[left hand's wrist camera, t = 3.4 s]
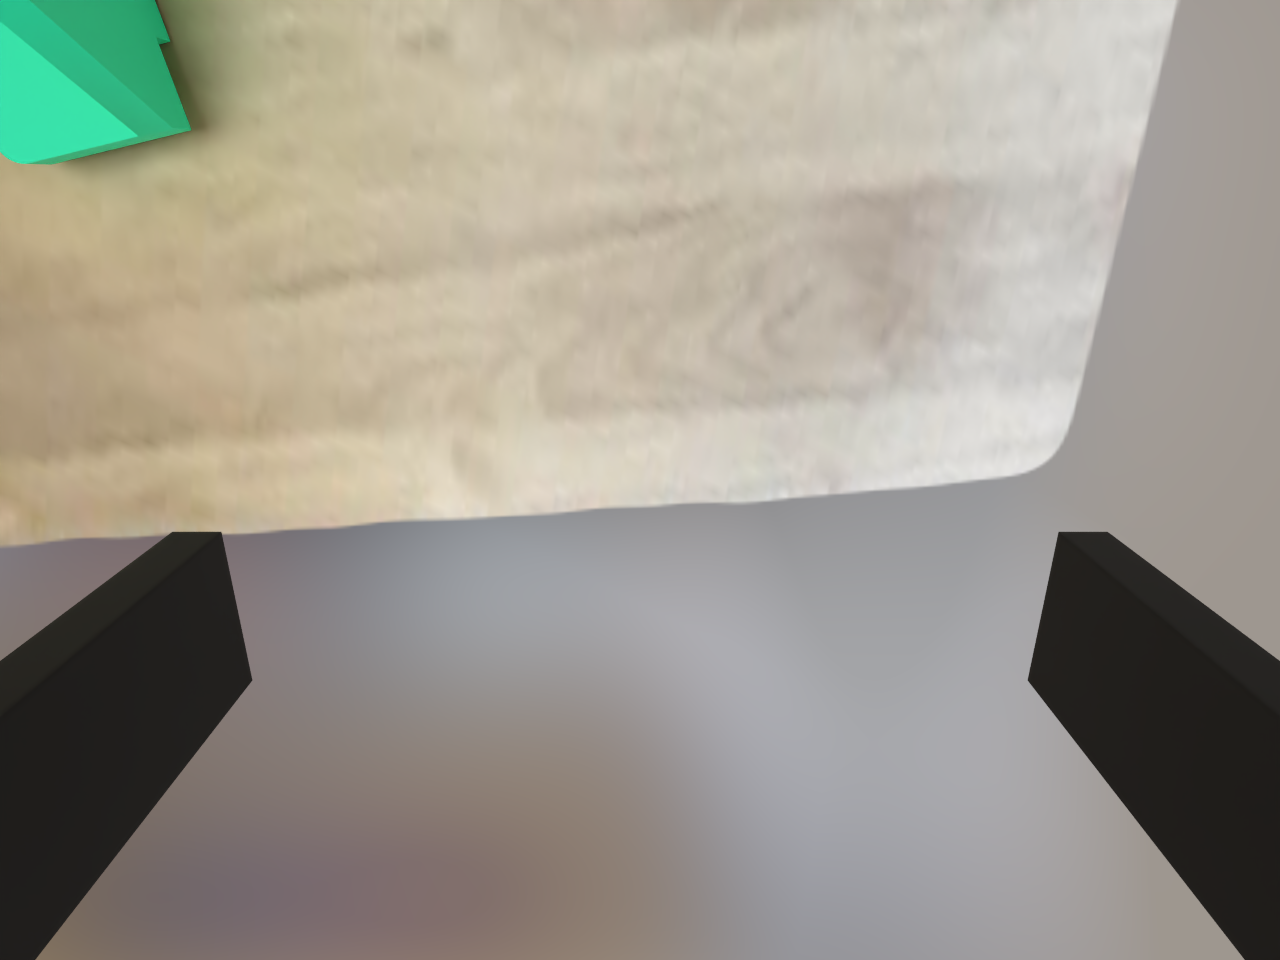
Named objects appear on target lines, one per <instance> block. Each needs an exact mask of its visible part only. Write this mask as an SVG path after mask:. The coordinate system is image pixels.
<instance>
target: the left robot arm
mask: <svg viewBox="0 0 1280 960" xmlns="http://www.w3.org/2000/svg"><path fill="white" fill-rule="evenodd" d="M251 681H252V677H251V672H250V667H249V662H248V658H247V653H246V648H245V643H244V638H243V634H242V629H241V624H240V619H239V615H238V610H237V605H236V600H235V595H234V590H233V586H232V581H231V576H230V571H229V566H228V562H227V557H226V552H225V547H224V542H223V538H222V533H221V532H172V533H170V534H169V535H168V536H166V537H165V538H164V539H162V540H161V541H160V542H158V543H157V544H156V545H154V546H153V547H152V548H150V549H149V550H148V551H146V552H145V553H144V554H142V555H141V556H140V557H138V558H137V559H136V560H134V561H133V562H132V563H130V564H129V565H128V566H126V567H125V568H124V569H122V570H121V571H120V572H118V573H117V574H116V575H114V576H113V577H112V578H110V579H109V580H108V581H106V582H105V583H104V584H102V585H101V586H100V587H98V588H97V589H96V590H94V591H93V592H92V593H90V594H89V595H88V596H86V597H85V598H84V599H82V600H81V601H80V602H78V603H77V604H76V605H74V606H73V607H72V608H70V609H69V610H68V611H66V612H65V613H64V614H62V615H61V616H60V617H58V618H57V619H56V620H54V621H53V622H52V623H50V624H49V625H48V626H46V627H45V628H44V629H42V630H41V631H40V632H38V633H37V634H36V635H34V636H33V637H32V638H30V639H29V640H28V641H26V642H25V643H24V644H22V645H21V646H20V647H18V648H17V649H16V650H14V651H13V652H12V653H10V654H9V655H8V656H6V657H5V658H4V659H2V660H1V661H0V960H35V959H36V958H37V957H38V955H39V954H40V953H41V952H42V950H43V949H44V948H45V946H46V945H47V944H48V943H49V941H50V940H51V939H52V937H53V936H54V935H55V934H56V932H57V931H58V930H59V928H60V927H61V926H62V925H63V923H64V922H65V921H66V919H67V918H68V917H69V915H70V914H71V913H72V912H73V910H74V909H75V908H76V907H77V905H78V904H79V903H80V901H81V900H82V899H83V898H84V896H85V895H86V894H87V892H88V891H89V890H90V889H91V887H92V886H93V885H94V883H95V882H96V881H97V879H98V878H99V877H100V876H101V874H102V873H103V872H104V870H105V869H106V868H107V867H108V865H109V864H110V863H111V861H112V860H113V859H114V858H115V856H116V855H117V854H118V852H119V851H120V850H121V849H122V847H123V846H124V845H125V843H126V842H127V841H128V840H129V838H130V837H131V836H132V834H133V833H134V832H135V831H136V829H137V828H138V827H139V825H140V824H141V823H142V822H143V820H144V819H145V818H146V816H147V815H148V814H149V812H150V811H151V810H152V809H153V807H154V806H155V805H156V804H157V802H158V801H159V800H160V798H161V797H162V796H163V795H164V793H165V792H166V791H167V789H168V788H169V787H170V785H171V784H172V783H173V782H174V780H175V779H176V778H177V777H178V775H179V774H180V773H181V771H182V770H183V769H184V768H185V766H186V765H187V764H188V762H189V761H190V760H191V759H192V757H193V756H194V755H195V753H196V752H197V751H198V750H199V748H200V747H201V746H202V744H203V743H204V742H205V741H206V739H207V738H208V737H209V735H210V734H211V733H212V731H213V730H214V729H215V728H216V726H217V725H218V724H219V722H220V721H221V720H222V719H223V717H224V716H225V715H226V713H227V712H228V711H229V710H230V708H231V707H232V706H233V704H234V703H235V702H236V701H237V699H238V698H239V697H240V695H241V694H242V693H243V692H244V690H245V689H246V688H247V686H248V685H249V684H250V683H251ZM1028 681H1029V683H1030V684H1031V685H1032V686H1033V688H1034V689H1035V690H1036V692H1037V693H1038V694H1039V695H1040V697H1041V698H1042V699H1043V701H1044V702H1045V703H1046V704H1047V706H1048V707H1049V708H1050V710H1051V711H1052V712H1053V713H1054V715H1055V716H1056V717H1057V719H1058V720H1059V721H1060V722H1061V724H1062V725H1063V726H1064V728H1065V729H1066V730H1067V731H1068V733H1069V734H1070V735H1071V737H1072V738H1073V739H1074V741H1075V742H1076V743H1077V744H1078V746H1079V747H1080V748H1081V749H1082V751H1083V752H1084V753H1085V755H1086V756H1087V757H1088V759H1089V760H1090V761H1091V762H1092V764H1093V765H1094V766H1095V768H1096V769H1097V770H1098V771H1099V773H1100V774H1101V775H1102V777H1103V778H1104V779H1105V780H1106V782H1107V783H1108V784H1109V786H1110V787H1111V788H1112V789H1113V791H1114V792H1115V793H1116V794H1117V796H1118V797H1119V798H1120V800H1121V801H1122V802H1123V804H1124V805H1125V806H1126V807H1127V809H1128V810H1129V811H1130V813H1131V814H1132V815H1133V816H1134V818H1135V819H1136V820H1137V822H1138V823H1139V824H1140V825H1141V827H1142V828H1143V829H1144V831H1145V832H1146V833H1147V834H1148V836H1149V837H1150V838H1151V840H1152V841H1153V842H1154V843H1155V845H1156V846H1157V847H1158V849H1159V850H1160V851H1161V852H1162V854H1163V855H1164V856H1165V858H1166V859H1167V860H1168V861H1169V863H1170V864H1171V865H1172V867H1173V868H1174V869H1175V870H1176V872H1177V873H1178V874H1179V876H1180V877H1181V878H1182V879H1183V881H1184V882H1185V883H1186V885H1187V886H1188V887H1189V889H1190V890H1191V891H1192V892H1193V894H1194V895H1195V896H1196V898H1197V899H1198V900H1199V901H1200V903H1201V904H1202V905H1203V907H1204V908H1205V909H1206V910H1207V912H1208V913H1209V914H1210V916H1211V917H1212V918H1213V919H1214V921H1215V922H1216V923H1217V925H1218V926H1219V927H1220V928H1221V930H1222V931H1223V932H1224V934H1225V935H1226V936H1227V937H1228V939H1229V940H1230V941H1231V943H1232V944H1233V945H1234V946H1235V948H1236V949H1237V950H1238V952H1239V953H1240V954H1241V955H1242V957H1243V958H1244V959H1245V960H1280V661H1279V660H1278V659H1276V658H1275V657H1274V656H1272V655H1271V654H1270V653H1268V652H1267V651H1266V650H1264V649H1263V648H1262V647H1260V646H1259V645H1258V644H1256V643H1255V642H1254V641H1252V640H1251V639H1250V638H1248V637H1247V636H1246V635H1244V634H1243V633H1242V632H1240V631H1239V630H1238V629H1236V628H1235V627H1234V626H1232V625H1231V624H1230V623H1228V622H1227V621H1226V620H1224V619H1223V618H1222V617H1220V616H1219V615H1218V614H1216V613H1215V612H1214V611H1212V610H1211V609H1210V608H1208V607H1207V606H1206V605H1204V604H1203V603H1202V602H1200V601H1199V600H1198V599H1196V598H1195V597H1194V596H1192V595H1191V594H1190V593H1188V592H1187V591H1186V590H1184V589H1183V588H1182V587H1180V586H1179V585H1178V584H1176V583H1175V582H1174V581H1172V580H1171V579H1170V578H1168V577H1167V576H1166V575H1164V574H1163V573H1162V572H1160V571H1159V570H1158V569H1156V568H1155V567H1154V566H1152V565H1151V564H1150V563H1148V562H1147V561H1146V560H1144V559H1143V558H1142V557H1140V556H1139V555H1138V554H1136V553H1135V552H1134V551H1132V550H1131V549H1130V548H1128V547H1127V546H1126V545H1124V544H1123V543H1122V542H1120V541H1119V540H1118V539H1116V538H1115V537H1114V536H1112V535H1111V534H1110V533H1108V532H1059V533H1058V538H1057V542H1056V547H1055V552H1054V557H1053V562H1052V567H1051V571H1050V576H1049V581H1048V586H1047V590H1046V595H1045V600H1044V605H1043V610H1042V614H1041V619H1040V624H1039V629H1038V634H1037V638H1036V643H1035V648H1034V653H1033V658H1032V663H1031V667H1030V672H1029V677H1028Z"/></svg>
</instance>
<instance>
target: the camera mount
mask: <svg viewBox="0 0 1280 960" xmlns="http://www.w3.org/2000/svg"><path fill="white" fill-rule="evenodd" d="M167 42H170V39H169V36H168V34H167V31H166V28H165V26H164V23H163V20H162V18H161V15H160V12H159V10H158V7H157V5H156V2H155V0H0V152H1V153H2V154H3V155H4V156H5V157H7V158H8V159H10V160H12V161H14V162H17V163H21V164H56V163H60V162H64V161H68V160H72V159H76V158H80V157H84V156H88V155H92V154H96V153H101V152H105V151H109V150H113V149H117V148H121V147H125V146H129V145H133V144H137V143H141V142H145V141H150V140H154V139H158V138H162V137H166V136H170V135H174V134H178V133H182V132H186V131H190V130H191V127H190V125H189V122H188V120H187V117H186V114H185V112H184V109H183V106H182V104H181V101H180V99H179V96H178V93H177V91H176V88H175V86H174V83H173V80H172V78H171V75H170V72H169V70H168V67H167V65H166V62H165V59H164V57H163V54H162V52H161V49H160V46H159V44H163V43H167Z"/></svg>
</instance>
